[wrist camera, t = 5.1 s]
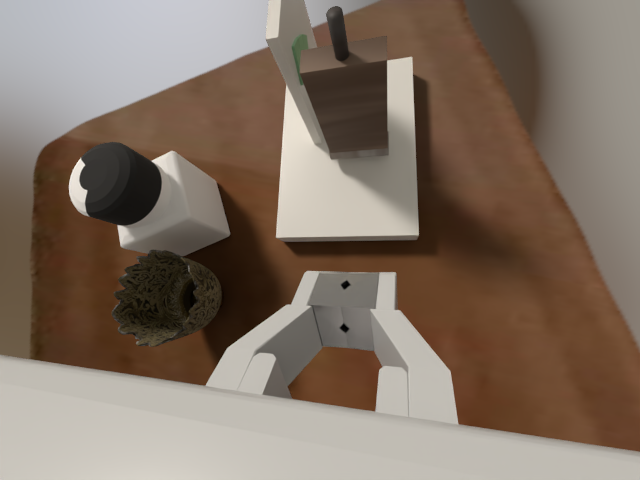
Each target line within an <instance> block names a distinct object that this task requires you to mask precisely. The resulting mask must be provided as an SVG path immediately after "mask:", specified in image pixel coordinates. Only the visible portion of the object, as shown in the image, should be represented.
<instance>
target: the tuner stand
mask: <svg viewBox="0 0 640 480" xmlns="http://www.w3.org/2000/svg"><path fill="white" fill-rule="evenodd" d="M266 41H267V43H268V46H269V48H270V50H271V52H272V54H273V56H274V59H275V61H276V63H277V65H278V67H279V69H280V71H281V74H282V76H283V78H284V80H285V82H286V97H285V112H284V127H283V142H282V157H281V172H280V186H279V201H278V216H277V231H276V238H278V239H279V240H281V241H283V242H310V241H382V240H417V238H418V236H419V223H418V197H417V171H416V145H415V119H414V93H413V67H412V57H408V58H402V59H395V60H389V61H387V129H388V131H389V155H384V156H371V157H359V158H346V159H334V160H331V159H330V155H329V148H328V146H327V143H326V141H325V138H324V135H323V133H322V130H321V128H320V125H319V122H318V120H317V117H316V115H315V112H314V110H313V107H312V104H311V102H310V99H309V97H308V94H307V91H306V89H305V86H304V84H303V81H302V78H301V76H300V57H301V50H306V49H312V48H317V45H316V42H315V38H314V34H313V31H312V27H311V24H310V20H309V17H308V13H307V9H306V6H305V2H304V0H269V8H268V19H267V30H266Z"/></svg>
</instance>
